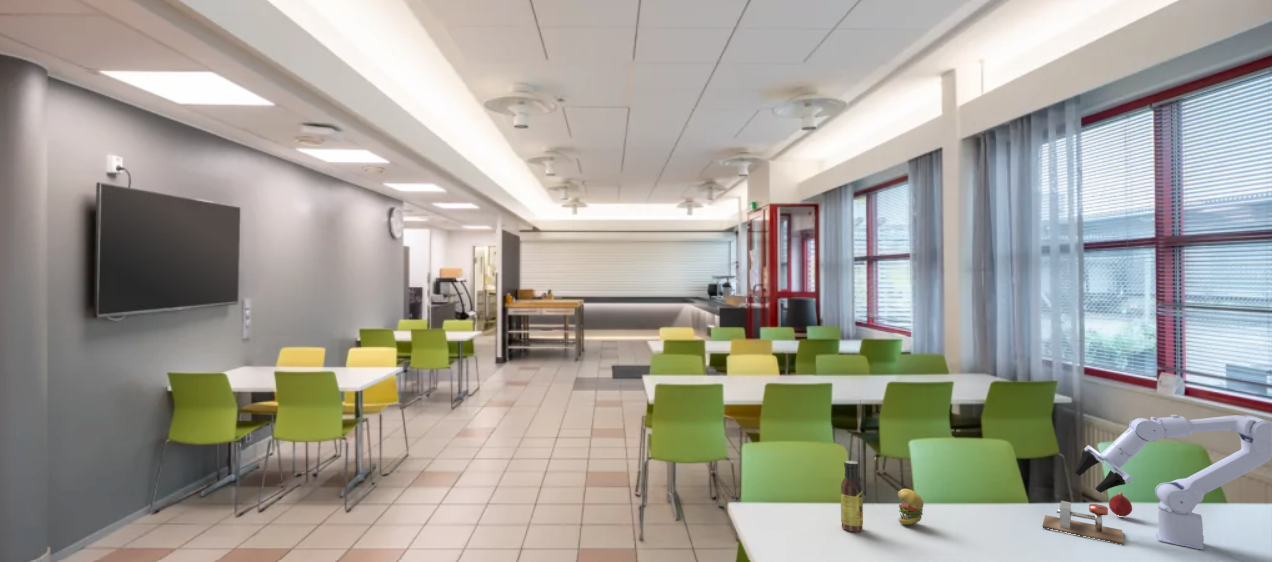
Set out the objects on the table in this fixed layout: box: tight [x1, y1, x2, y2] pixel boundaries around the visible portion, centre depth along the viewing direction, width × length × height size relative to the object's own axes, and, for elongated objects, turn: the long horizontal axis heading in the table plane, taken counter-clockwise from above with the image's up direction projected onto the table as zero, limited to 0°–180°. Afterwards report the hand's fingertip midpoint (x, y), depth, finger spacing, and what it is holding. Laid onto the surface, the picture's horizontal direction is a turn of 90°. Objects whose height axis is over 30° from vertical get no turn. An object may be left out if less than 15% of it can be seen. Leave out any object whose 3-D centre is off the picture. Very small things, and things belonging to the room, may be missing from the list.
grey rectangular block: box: [1059, 500, 1072, 529], centre depth 179 cm, size 2×8×6 cm, turn 142°
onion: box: [1108, 491, 1133, 517], centre depth 188 cm, size 6×6×8 cm
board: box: [1041, 514, 1124, 546], centre depth 177 cm, size 19×12×1 cm, turn 52°
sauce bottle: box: [840, 460, 864, 533], centre depth 177 cm, size 6×6×20 cm
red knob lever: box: [1056, 503, 1109, 531], centre depth 177 cm, size 12×4×7 cm, turn 52°
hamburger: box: [897, 486, 924, 526], centre depth 180 cm, size 8×7×12 cm
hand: (1087, 482), depth 179 cm, fingers open, 7 cm apart
